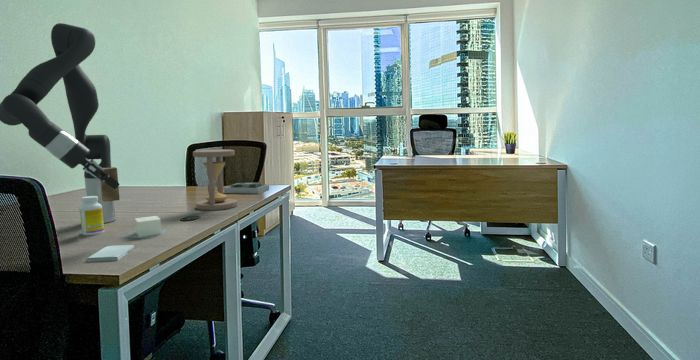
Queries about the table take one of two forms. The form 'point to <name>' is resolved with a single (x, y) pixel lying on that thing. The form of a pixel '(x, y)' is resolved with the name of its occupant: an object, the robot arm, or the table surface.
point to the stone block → (247, 185)
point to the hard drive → (110, 253)
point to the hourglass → (215, 170)
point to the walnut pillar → (107, 190)
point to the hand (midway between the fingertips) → (116, 185)
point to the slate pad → (134, 235)
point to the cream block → (148, 226)
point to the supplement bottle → (91, 216)
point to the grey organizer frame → (246, 189)
